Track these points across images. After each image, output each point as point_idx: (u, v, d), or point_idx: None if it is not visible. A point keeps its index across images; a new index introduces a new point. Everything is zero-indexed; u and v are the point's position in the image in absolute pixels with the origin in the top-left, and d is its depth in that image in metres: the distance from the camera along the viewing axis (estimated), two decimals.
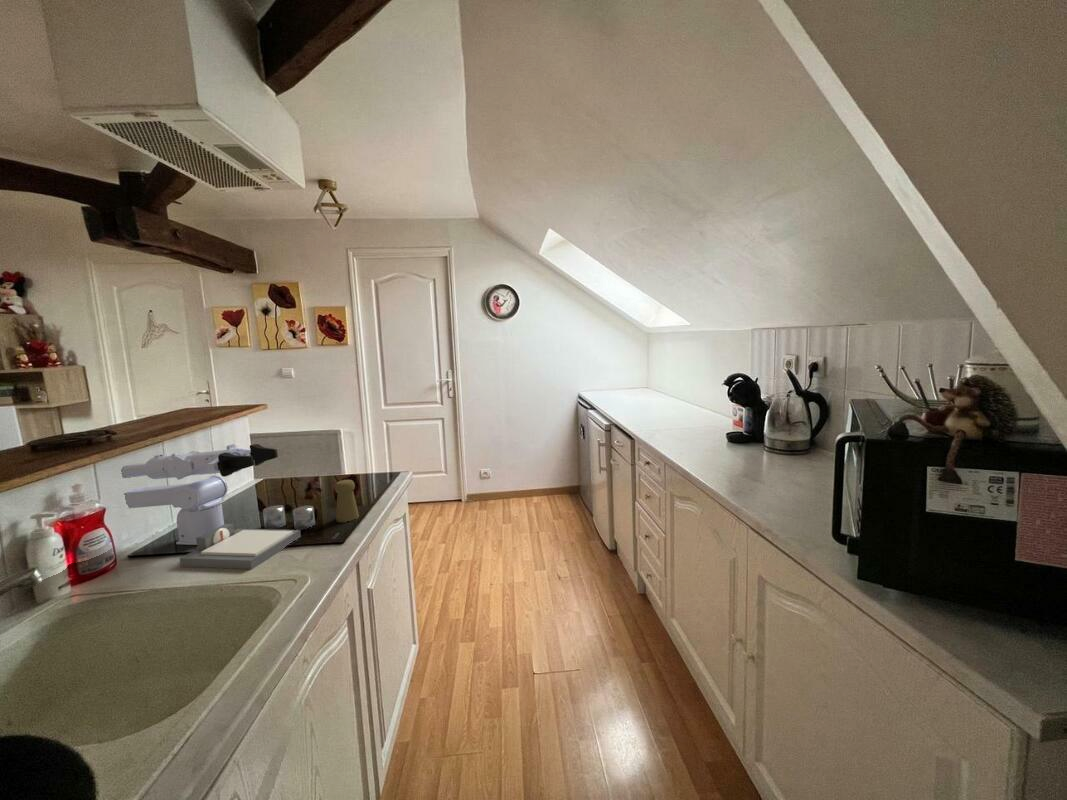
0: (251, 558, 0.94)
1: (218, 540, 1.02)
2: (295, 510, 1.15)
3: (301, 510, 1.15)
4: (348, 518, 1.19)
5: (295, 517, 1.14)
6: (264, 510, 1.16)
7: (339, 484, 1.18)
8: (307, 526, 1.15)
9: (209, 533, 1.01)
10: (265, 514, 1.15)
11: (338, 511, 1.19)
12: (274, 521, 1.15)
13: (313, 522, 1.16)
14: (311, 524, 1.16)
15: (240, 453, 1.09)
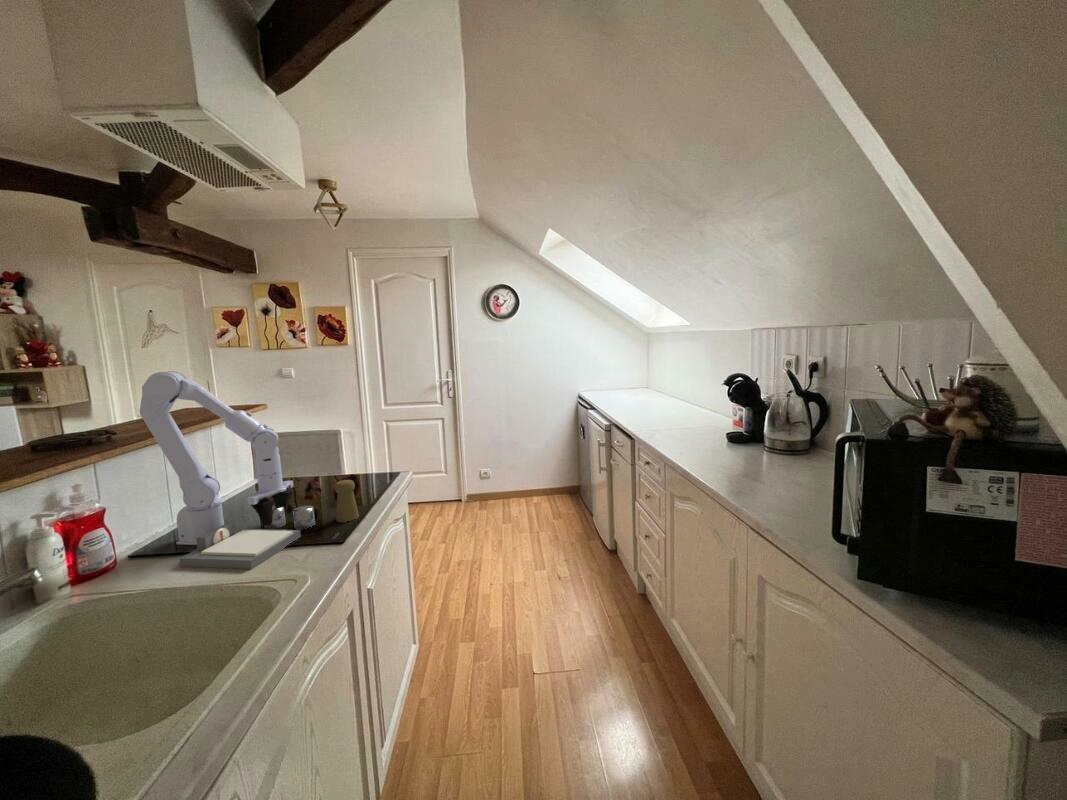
0: (251, 558, 0.94)
1: (218, 540, 1.02)
2: (295, 510, 1.15)
3: (301, 510, 1.15)
4: (348, 518, 1.19)
5: (295, 517, 1.14)
6: None
7: (339, 484, 1.18)
8: (307, 526, 1.15)
9: (209, 533, 1.01)
10: None
11: (338, 511, 1.19)
12: (274, 520, 1.15)
13: (313, 522, 1.16)
14: (311, 524, 1.16)
15: None
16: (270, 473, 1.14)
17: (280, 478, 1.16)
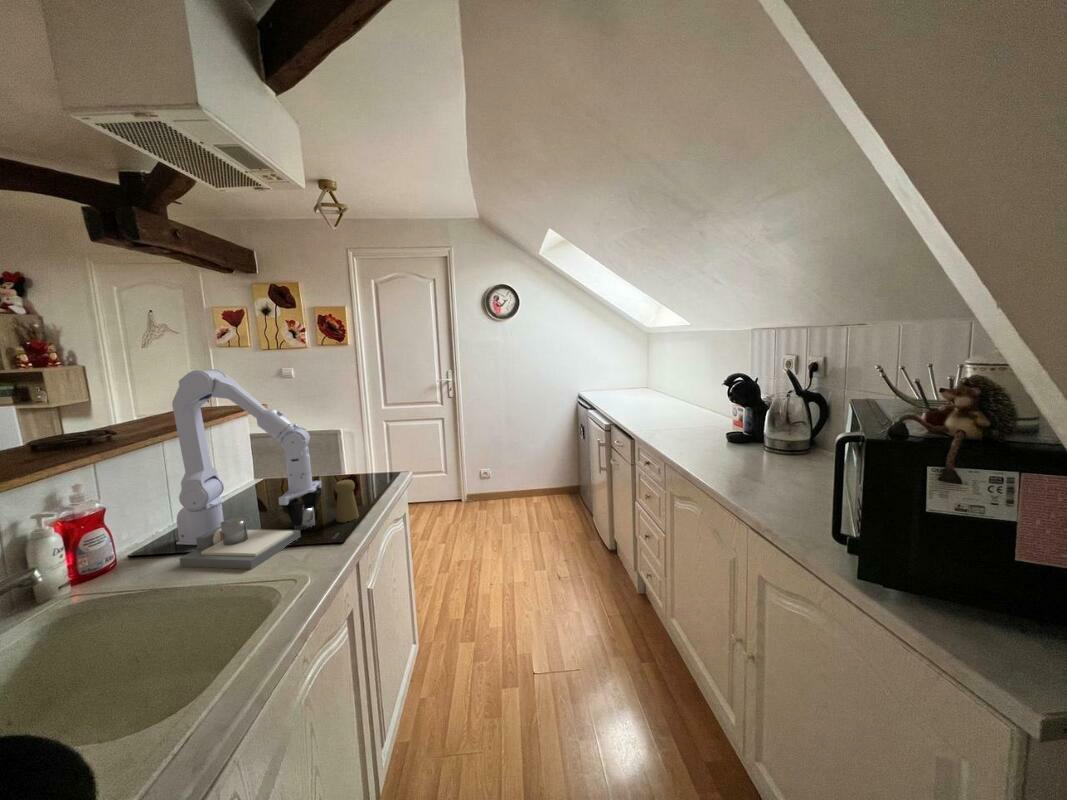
0: (251, 558, 0.94)
1: (218, 540, 1.02)
2: None
3: (302, 510, 1.15)
4: (348, 518, 1.19)
5: None
6: (222, 523, 1.01)
7: (339, 484, 1.18)
8: (309, 525, 1.15)
9: (209, 533, 1.01)
10: (222, 528, 1.00)
11: (338, 511, 1.19)
12: (232, 535, 1.00)
13: (314, 521, 1.17)
14: (312, 523, 1.16)
15: None
16: (298, 474, 1.12)
17: (310, 478, 1.15)
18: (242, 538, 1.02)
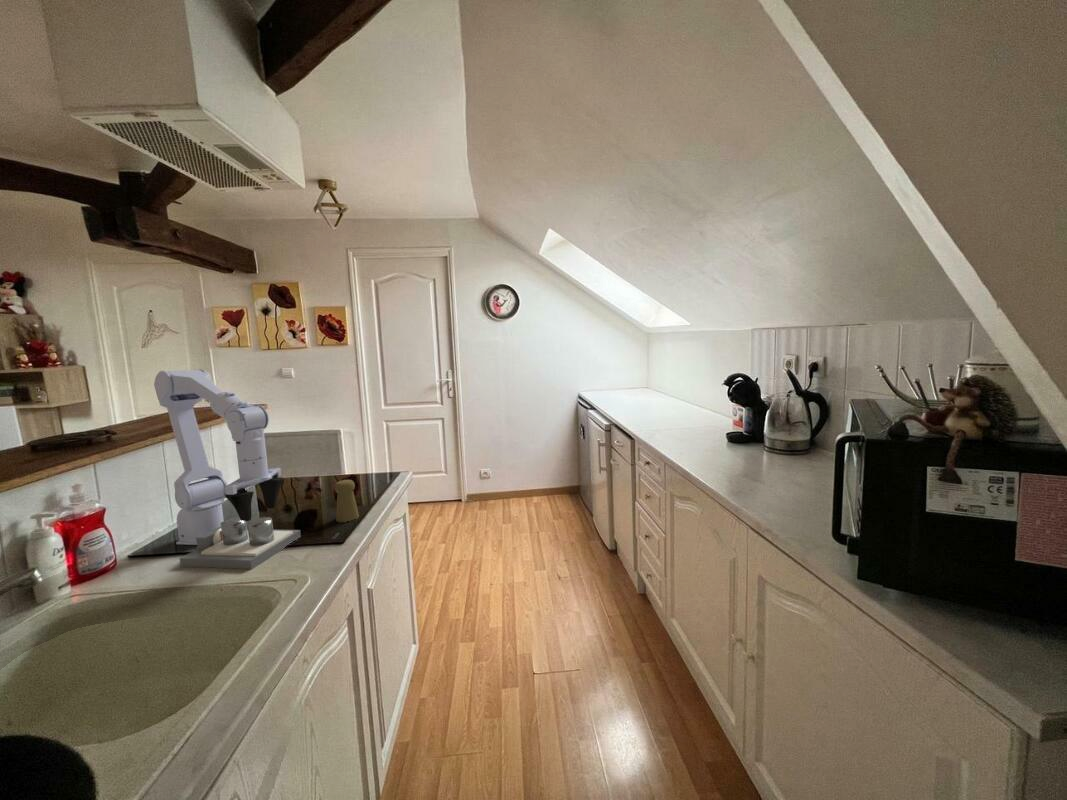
0: (251, 558, 0.94)
1: (218, 540, 1.02)
2: (250, 523, 1.00)
3: (258, 523, 0.99)
4: (348, 518, 1.19)
5: (251, 531, 0.99)
6: (222, 523, 1.01)
7: (339, 484, 1.18)
8: (266, 541, 1.00)
9: (209, 533, 1.01)
10: (222, 528, 1.00)
11: (338, 511, 1.19)
12: (232, 535, 1.00)
13: (272, 536, 1.02)
14: (270, 538, 1.01)
15: None
16: (240, 459, 0.97)
17: (265, 464, 0.99)
18: (242, 538, 1.02)
